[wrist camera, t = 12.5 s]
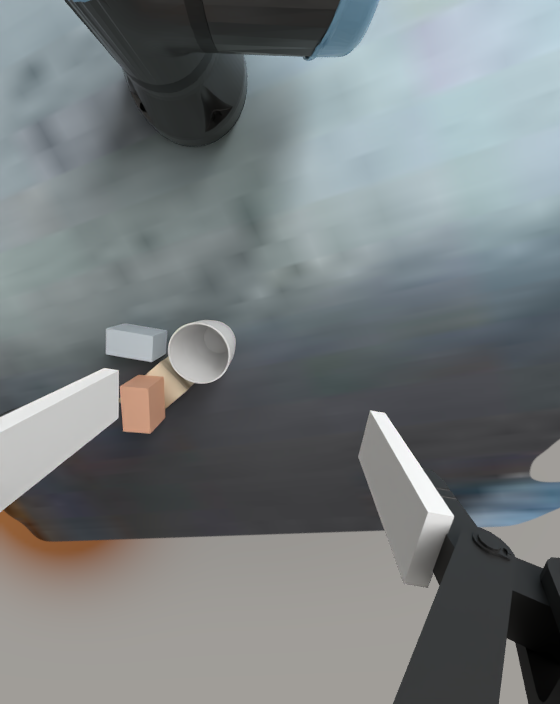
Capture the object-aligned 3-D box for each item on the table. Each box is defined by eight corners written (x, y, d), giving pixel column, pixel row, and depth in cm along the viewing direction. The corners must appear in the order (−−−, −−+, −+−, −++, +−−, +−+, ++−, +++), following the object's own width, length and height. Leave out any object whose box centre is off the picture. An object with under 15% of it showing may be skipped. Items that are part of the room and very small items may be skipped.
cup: (202, 366, 48) (179, 389, 38) (187, 319, 46) (159, 330, 37) (249, 356, 47) (237, 376, 38) (235, 307, 45) (219, 315, 36)
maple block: (170, 355, 48) (159, 362, 44) (195, 381, 49) (187, 390, 45) (131, 390, 50) (117, 399, 46) (155, 415, 51) (144, 426, 47)
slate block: (124, 346, 48) (105, 354, 43) (125, 323, 47) (106, 328, 42) (166, 353, 48) (151, 362, 43) (167, 330, 47) (153, 336, 42)
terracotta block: (138, 374, 45) (119, 386, 40) (163, 376, 45) (148, 388, 40) (140, 415, 47) (123, 431, 42) (165, 417, 47) (150, 433, 42)
